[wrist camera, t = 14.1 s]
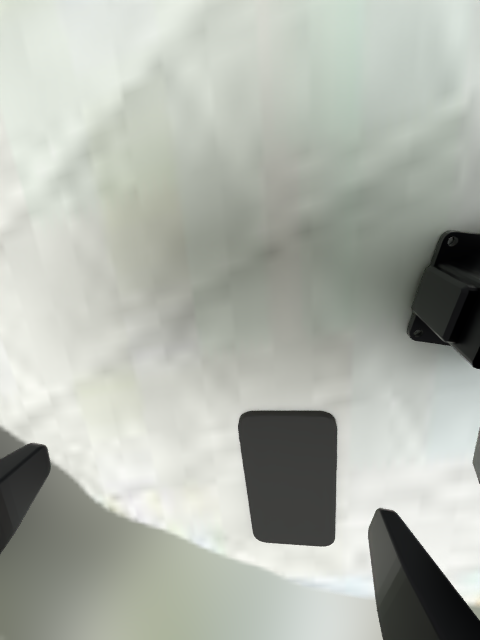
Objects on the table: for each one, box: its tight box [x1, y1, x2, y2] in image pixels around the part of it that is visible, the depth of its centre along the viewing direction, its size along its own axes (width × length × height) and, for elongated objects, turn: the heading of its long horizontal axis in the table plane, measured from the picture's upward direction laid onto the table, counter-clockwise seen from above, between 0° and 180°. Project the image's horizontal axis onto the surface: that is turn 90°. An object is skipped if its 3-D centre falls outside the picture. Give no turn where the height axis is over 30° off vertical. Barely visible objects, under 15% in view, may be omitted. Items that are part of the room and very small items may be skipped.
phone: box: [238, 411, 337, 546], centre depth 26 cm, size 7×1×15 cm
